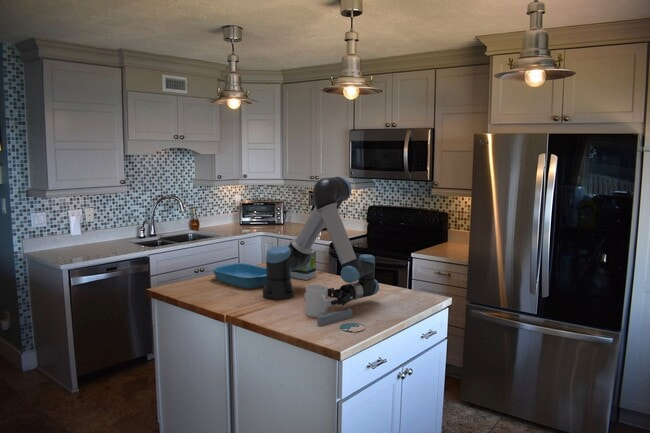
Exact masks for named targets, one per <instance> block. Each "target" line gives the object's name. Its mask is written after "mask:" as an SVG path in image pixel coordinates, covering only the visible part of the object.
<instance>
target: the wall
mask: <svg viewBox="0 0 650 433" xmlns="http://www.w3.org/2000/svg"><path fill="white" fill-rule="evenodd" d="M353 311H354V310H353V309H352V308H345V309H343V310H338V311H334V312H331V313H327V314H326V315H322V316H319V317H316V318H317V321H316V322H317V323H316V324H317V326H318V325H319V327H321V325H322V326H326V325H330V324H333V323H336V322H337V323H338V322H341V321H344V320H347V318H348V319H351V317H352V318H353ZM340 320H341V321H340ZM332 322H333V323H332ZM329 323H330V324H329ZM325 324H326V325H325Z"/></svg>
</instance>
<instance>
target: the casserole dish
mask: <svg viewBox="0 0 650 433" xmlns="http://www.w3.org/2000/svg"><path fill="white" fill-rule="evenodd" d="M212 271H213V273H214V274H213V275H215V276H214V277H215V278H216V280H217V281H219V282H221V283H224V284H228V285H231V286H235V287H237V288H243V289H249V290H250V289H255V288H260V287H263V286H265V283H266V267H263V266H259V265H254V264H249V263H243V262H242V263H241V262H237V263H227V264H222V265H217V266H216V267H214V268H212Z"/></svg>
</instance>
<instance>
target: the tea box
mask: <svg viewBox="0 0 650 433" xmlns="http://www.w3.org/2000/svg"><path fill="white" fill-rule="evenodd" d="M316 254H317V251H315V250H312V252H311V260H310V262H309V263H308V264H307V265H306V266H304V267H302V268H299V269H296V270H293V271H291V278H292V279H298V280H303V281H304V280H305V281H307V280H311V279H313V278H316V276H317V269H316V268H317V255H316Z"/></svg>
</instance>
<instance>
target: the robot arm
mask: <svg viewBox="0 0 650 433" xmlns="http://www.w3.org/2000/svg"><path fill="white" fill-rule="evenodd" d="M351 195H352V187H351V183H350V182H349V181H348V179H347V178H345V177H342V176H333V177H323V178H320V179H318V181H316V183H315V184H314V186H313V189H312V199H313V203H314V208H313V209H312V211H311V212H310V215H309V216H308V218H307V220H306V221H305V223H304V225H303V226H302V228H301V230H300V232H299V233H298V235H297V237H296V238H292V239H291V241H290V242H289V243H288V246H286V245H278V246H273V247H270V248H268V249H267V250H266V257H265V260H266V267H265V268H266V283H265V285H264V287H263V290H262V297H263V298H264V299H268V300H275V301H276V300H277V301H278V300H279V301H280V300H288V299H289V300H290V299H292V298H293V297H294V296H295V289H294V286H293V284H292V280H291V271H293V270H296V269H299V268H302V267H304V266H306V265H307V264H308V263H309V262H310V260H311V252H312V251H313V248H312V246H313V245H314V243H315V242H316V240H317V238H318V237H319V235H320V234H321V232H322V230H323V229H324V227H326V230H327V233H328V236H329V237H330V240H331V242H332V245H333V248H334V250H335V253H336V255H337V257H338V261H339V263H340V266H341V270H340V278H341V280H343V282H345V283H346V284H342V285H341V286H340V288H336V289H335V288H334V287H330V288H328V297H329V298H330V299H328V300H325V301H324V307H328V308H329V307H332V306H337V305H338V306H339V305H341V306H345V305H347V304H348V303H349V302H352V301H357V300H359V299H362V298H367V297H371V296H374V295H377V294H378V292H379V291H380V285H379V282H378V280H377V279H376V278H375V268H376V261H375V260H376V258H375V256H374V255H372V254H366V253H365V254H360V255H359V256H358V259H357V256H356V254H355V251H354V248H353V245H352V243H351V240H350V239H349V235H348V234H347V233H348V232H347V230H346V228H345V225H344V223H343V220H342V218H341V215H340V213H339V208H340V207H341V205H342V204H343V202H345V201H347V200H349V198H350V197H351ZM303 300H305V301H306V292H305V293H303Z"/></svg>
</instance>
